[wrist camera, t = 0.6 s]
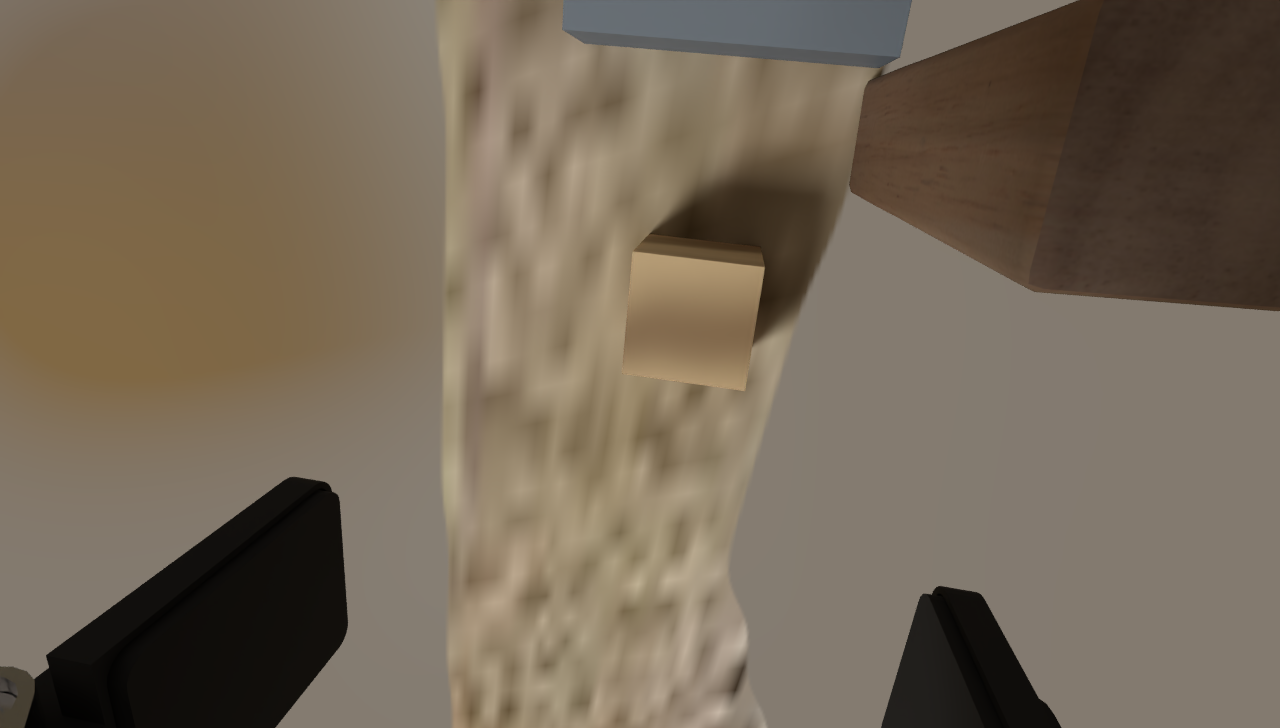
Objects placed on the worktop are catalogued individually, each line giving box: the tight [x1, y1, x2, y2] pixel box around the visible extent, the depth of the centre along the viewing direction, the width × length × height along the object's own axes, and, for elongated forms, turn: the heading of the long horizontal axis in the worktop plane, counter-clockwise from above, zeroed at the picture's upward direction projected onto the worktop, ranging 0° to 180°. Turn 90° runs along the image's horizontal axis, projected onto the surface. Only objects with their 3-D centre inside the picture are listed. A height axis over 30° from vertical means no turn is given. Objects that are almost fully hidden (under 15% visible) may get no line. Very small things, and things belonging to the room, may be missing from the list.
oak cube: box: [622, 234, 765, 391], centre depth 27 cm, size 5×5×5 cm
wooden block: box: [849, 0, 1280, 311], centre depth 17 cm, size 9×4×18 cm, turn 87°
